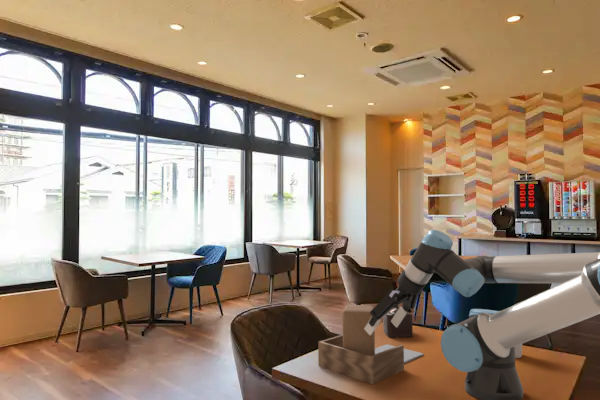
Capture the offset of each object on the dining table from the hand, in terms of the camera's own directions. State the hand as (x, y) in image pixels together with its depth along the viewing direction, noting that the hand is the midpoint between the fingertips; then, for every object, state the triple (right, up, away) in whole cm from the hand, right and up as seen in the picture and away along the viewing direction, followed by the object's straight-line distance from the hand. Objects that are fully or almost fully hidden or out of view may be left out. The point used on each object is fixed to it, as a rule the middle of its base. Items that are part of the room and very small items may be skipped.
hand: (381, 328), depth 134 cm
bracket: (-6, -16, +8) cm, 18 cm away
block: (-6, -16, +8) cm, 19 cm away
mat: (+9, -16, +21) cm, 28 cm away
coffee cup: (+51, -16, +19) cm, 56 cm away
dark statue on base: (+16, -17, +50) cm, 55 cm away
